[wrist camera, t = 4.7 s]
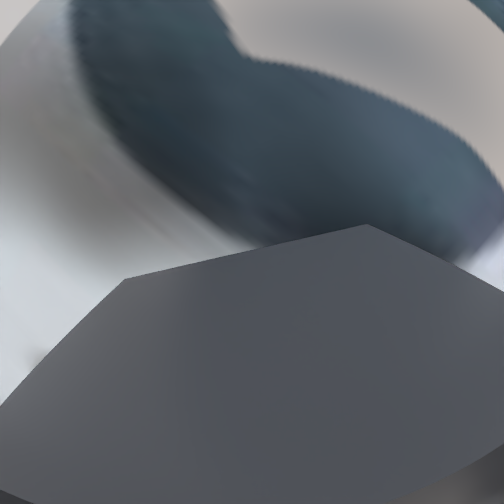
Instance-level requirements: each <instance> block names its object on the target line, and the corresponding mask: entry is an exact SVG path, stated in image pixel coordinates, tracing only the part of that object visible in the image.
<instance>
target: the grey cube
mask: <svg viewBox="0 0 504 504" xmlns="http://www.w3.org/2000/svg"><path fill="white" fill-rule="evenodd" d="M0 504H504V292H503V291H501V290H499V289H497V288H496V287H494V286H492V285H490V284H488V283H486V282H485V281H483V280H481V279H479V278H477V277H475V276H473V275H472V274H470V273H468V272H466V271H464V270H462V269H460V268H458V267H456V266H454V265H452V264H450V263H448V262H446V261H444V260H443V259H441V258H439V257H436V256H434V255H432V254H430V253H428V252H426V251H424V250H422V249H420V248H418V247H416V246H414V245H412V244H410V243H408V242H405V241H403V240H401V239H399V238H397V237H395V236H393V235H390V234H388V233H386V232H384V231H382V230H379V229H377V228H375V227H373V226H370V225H368V224H365V225H360V226H356V227H351V228H347V229H343V230H338V231H334V232H329V233H325V234H321V235H316V236H312V237H307V238H303V239H298V240H294V241H290V242H285V243H281V244H276V245H272V246H268V247H263V248H259V249H254V250H250V251H246V252H241V253H237V254H232V255H228V256H224V257H219V258H215V259H210V260H206V261H202V262H197V263H193V264H189V265H184V266H180V267H175V268H171V269H167V270H162V271H158V272H154V273H149V274H145V275H140V276H136V277H132V278H127V279H124V280H123V281H122V282H121V283H120V284H119V285H118V286H117V287H116V288H115V289H114V290H112V291H111V292H110V293H109V294H108V295H107V296H106V297H105V298H104V299H103V300H102V301H101V302H100V303H99V304H98V305H97V306H96V307H95V308H93V309H92V310H91V311H90V312H89V313H88V314H87V315H86V316H85V317H84V318H83V319H82V320H81V321H80V322H79V323H78V324H77V325H76V326H75V327H74V328H73V329H72V330H71V331H70V332H69V333H68V334H67V335H66V336H65V337H64V338H63V339H62V340H61V341H60V342H59V343H58V344H57V345H56V346H55V347H54V348H53V349H52V350H51V351H50V352H49V353H48V354H47V356H46V357H45V358H44V359H43V360H42V361H41V362H40V363H39V364H38V365H37V366H36V367H35V368H34V369H33V370H32V371H31V372H30V374H29V375H28V376H27V377H26V378H25V379H24V380H23V381H22V382H21V383H20V384H19V386H18V387H17V388H16V389H15V390H14V391H13V392H12V393H11V395H10V396H9V397H8V398H7V399H6V400H5V401H4V402H3V404H2V405H1V406H0Z"/></svg>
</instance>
